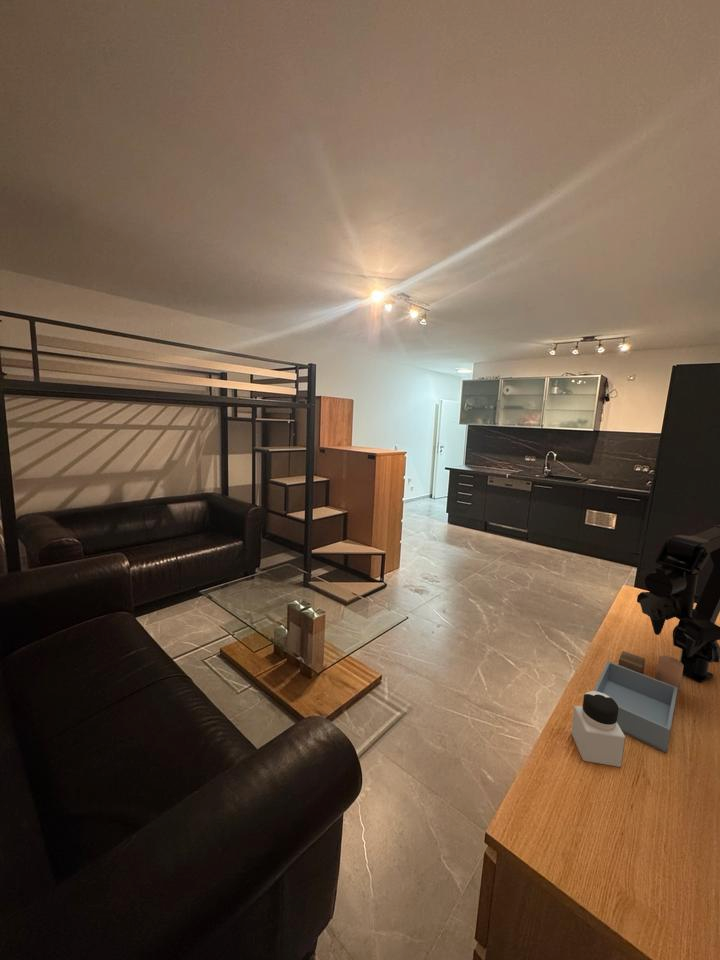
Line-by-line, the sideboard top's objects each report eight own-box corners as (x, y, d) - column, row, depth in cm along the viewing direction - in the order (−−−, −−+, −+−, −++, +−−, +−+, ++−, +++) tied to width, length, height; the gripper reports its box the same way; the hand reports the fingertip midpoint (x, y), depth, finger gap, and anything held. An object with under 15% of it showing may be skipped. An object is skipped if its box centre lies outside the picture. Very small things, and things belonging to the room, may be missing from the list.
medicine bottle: (622, 768, 75) (629, 714, 73) (582, 761, 76) (588, 709, 74) (606, 738, 82) (612, 689, 80) (570, 733, 83) (576, 684, 81)
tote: (605, 679, 100) (607, 660, 99) (674, 708, 90) (677, 687, 89) (588, 715, 88) (591, 695, 87) (666, 753, 78) (670, 730, 77)
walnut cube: (620, 667, 105) (622, 650, 104) (642, 675, 102) (645, 658, 101) (617, 675, 102) (619, 658, 101) (639, 684, 98) (642, 667, 97)
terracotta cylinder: (662, 677, 101) (665, 654, 100) (684, 690, 96) (688, 665, 95) (650, 682, 99) (654, 658, 98) (672, 695, 94) (676, 670, 93)
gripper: (621, 573, 102) (615, 626, 104) (683, 608, 83) (674, 671, 86) (660, 571, 102) (653, 624, 105) (731, 605, 84) (720, 668, 87)
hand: (672, 644), depth 96 cm, fingers open, 9 cm apart
